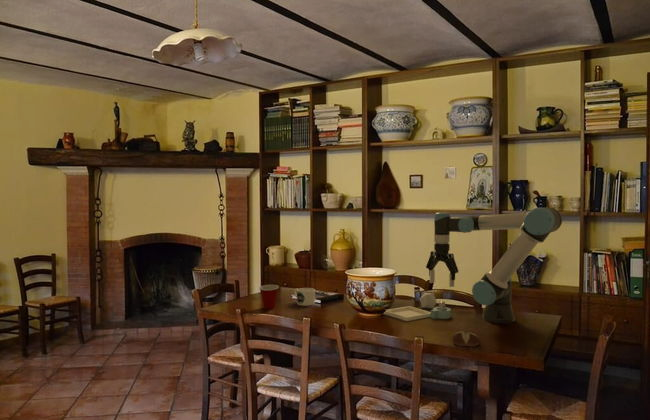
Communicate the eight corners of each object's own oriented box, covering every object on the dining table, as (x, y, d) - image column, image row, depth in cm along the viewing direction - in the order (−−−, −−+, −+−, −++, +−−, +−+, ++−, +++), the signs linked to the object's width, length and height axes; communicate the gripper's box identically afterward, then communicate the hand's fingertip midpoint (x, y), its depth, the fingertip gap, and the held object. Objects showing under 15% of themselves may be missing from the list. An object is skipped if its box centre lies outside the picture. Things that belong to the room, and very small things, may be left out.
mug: (318, 303, 293) (318, 289, 293) (308, 306, 284) (308, 292, 284) (299, 300, 300) (299, 286, 300) (288, 303, 291) (288, 289, 291)
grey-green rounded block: (441, 313, 267) (441, 306, 267) (453, 317, 260) (454, 309, 260) (426, 316, 261) (426, 308, 261) (438, 320, 254) (438, 312, 254)
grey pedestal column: (450, 317, 260) (450, 302, 260) (441, 319, 257) (442, 303, 257) (441, 315, 265) (441, 300, 265) (433, 316, 262) (433, 301, 262)
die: (438, 308, 284) (430, 292, 288) (440, 303, 276) (431, 287, 281) (424, 314, 283) (416, 298, 288) (425, 309, 275) (417, 293, 280)
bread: (451, 346, 214) (451, 334, 214) (454, 338, 225) (454, 327, 224) (479, 349, 210) (479, 337, 210) (481, 341, 221) (481, 330, 220)
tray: (433, 316, 262) (433, 312, 262) (406, 321, 252) (406, 317, 252) (409, 309, 277) (409, 306, 277) (383, 314, 267) (383, 310, 267)
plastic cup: (254, 308, 278) (254, 287, 278) (267, 305, 288) (267, 283, 287) (271, 311, 273) (270, 289, 272) (282, 307, 282) (282, 285, 282)
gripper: (466, 244, 252) (465, 287, 253) (429, 240, 273) (429, 280, 274) (455, 245, 248) (455, 289, 249) (419, 241, 269) (419, 281, 270)
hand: (441, 284), depth 261 cm, fingers open, 13 cm apart
